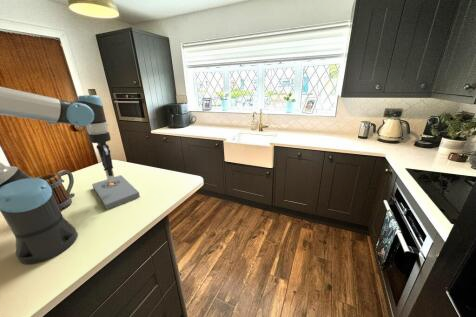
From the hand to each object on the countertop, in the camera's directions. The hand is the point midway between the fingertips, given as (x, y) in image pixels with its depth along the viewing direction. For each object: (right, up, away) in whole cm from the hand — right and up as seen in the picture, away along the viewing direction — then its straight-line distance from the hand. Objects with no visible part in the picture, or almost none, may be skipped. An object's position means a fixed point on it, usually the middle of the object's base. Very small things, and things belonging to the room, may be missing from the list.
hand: (111, 181), depth 93 cm
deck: (-2, -6, +6) cm, 9 cm away
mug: (-21, -11, -2) cm, 24 cm away
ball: (-6, -3, +9) cm, 12 cm away
